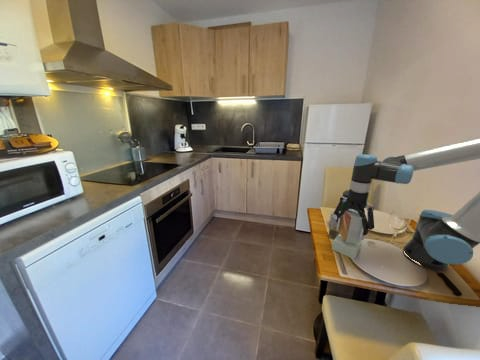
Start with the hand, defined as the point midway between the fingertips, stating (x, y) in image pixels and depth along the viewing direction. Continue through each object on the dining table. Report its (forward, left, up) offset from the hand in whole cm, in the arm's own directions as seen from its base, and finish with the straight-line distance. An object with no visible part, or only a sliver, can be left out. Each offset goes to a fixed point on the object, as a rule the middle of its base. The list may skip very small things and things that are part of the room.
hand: (349, 234), depth 93 cm
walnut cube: (+9, -5, -8) cm, 13 cm away
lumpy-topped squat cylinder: (+13, -16, -9) cm, 23 cm away
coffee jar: (+16, -28, -8) cm, 33 cm away
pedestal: (0, 0, -9) cm, 9 cm away
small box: (0, 0, -2) cm, 2 cm away
